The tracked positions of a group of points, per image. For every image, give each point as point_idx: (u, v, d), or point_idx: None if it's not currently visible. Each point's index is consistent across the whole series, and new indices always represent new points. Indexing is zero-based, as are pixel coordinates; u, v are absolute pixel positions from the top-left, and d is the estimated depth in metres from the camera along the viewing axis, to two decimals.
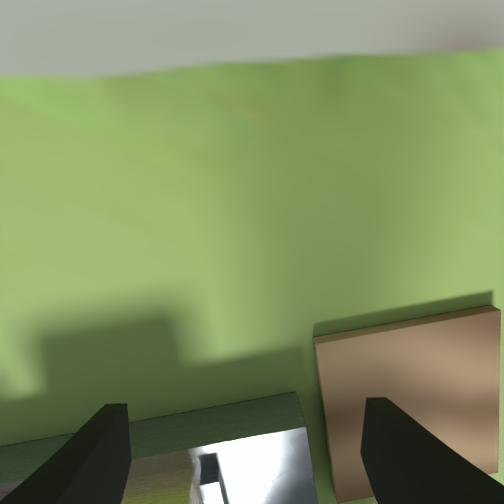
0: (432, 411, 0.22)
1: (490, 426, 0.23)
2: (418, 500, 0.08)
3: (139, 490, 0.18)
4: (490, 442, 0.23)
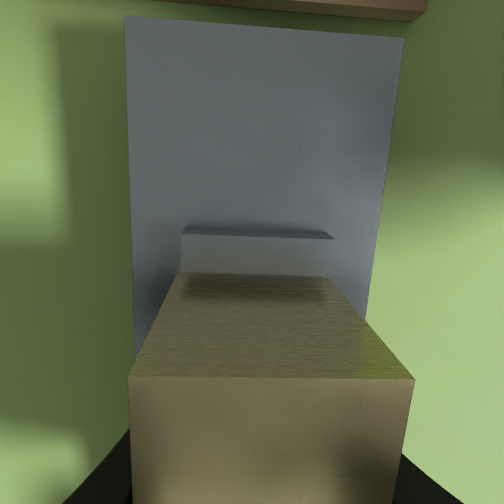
0: None
1: None
2: None
3: None
4: None
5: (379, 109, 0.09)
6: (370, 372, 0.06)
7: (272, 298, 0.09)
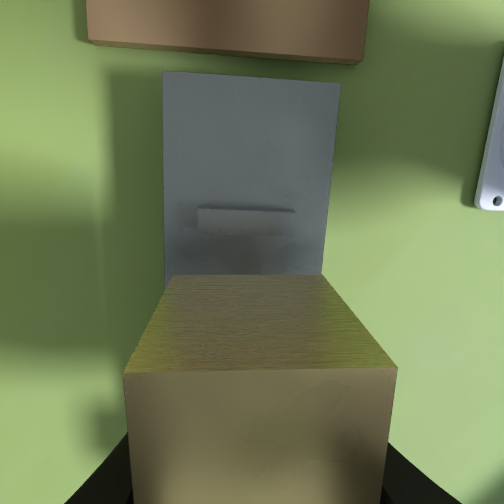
0: None
1: None
2: None
3: None
4: None
5: (326, 128, 0.14)
6: (355, 362, 0.06)
7: (265, 295, 0.09)
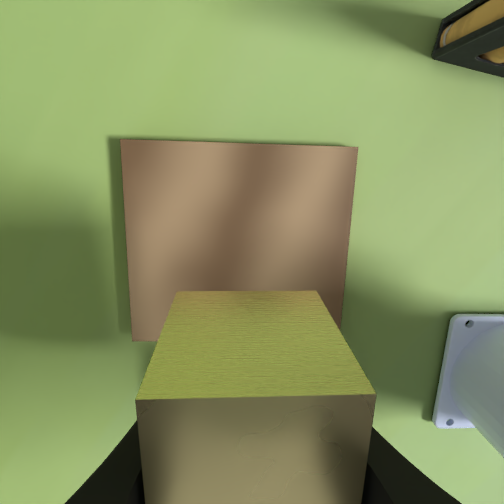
0: (243, 227, 0.19)
1: (283, 155, 0.18)
2: (362, 502, 0.08)
3: None
4: (307, 156, 0.18)
5: None
6: (339, 388, 0.07)
7: (261, 314, 0.10)
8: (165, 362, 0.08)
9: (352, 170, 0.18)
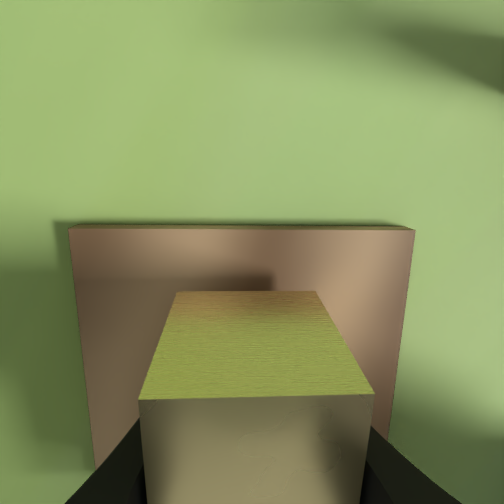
0: None
1: (306, 245, 0.12)
2: (362, 502, 0.08)
3: None
4: (341, 245, 0.12)
5: None
6: (338, 388, 0.07)
7: (261, 315, 0.10)
8: (167, 362, 0.08)
9: (406, 262, 0.13)
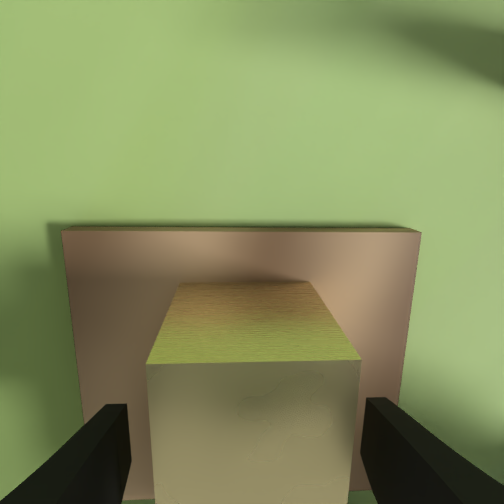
0: None
1: (309, 247, 0.12)
2: (418, 500, 0.08)
3: None
4: (345, 247, 0.12)
5: None
6: (328, 355, 0.08)
7: (259, 300, 0.11)
8: (171, 336, 0.08)
9: (411, 265, 0.12)
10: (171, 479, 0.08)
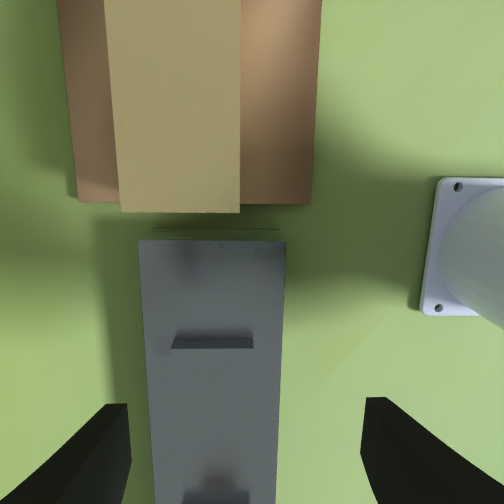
0: None
1: None
2: (418, 500, 0.08)
3: None
4: None
5: (276, 275, 0.17)
6: None
7: None
8: None
9: None
10: (118, 32, 0.12)
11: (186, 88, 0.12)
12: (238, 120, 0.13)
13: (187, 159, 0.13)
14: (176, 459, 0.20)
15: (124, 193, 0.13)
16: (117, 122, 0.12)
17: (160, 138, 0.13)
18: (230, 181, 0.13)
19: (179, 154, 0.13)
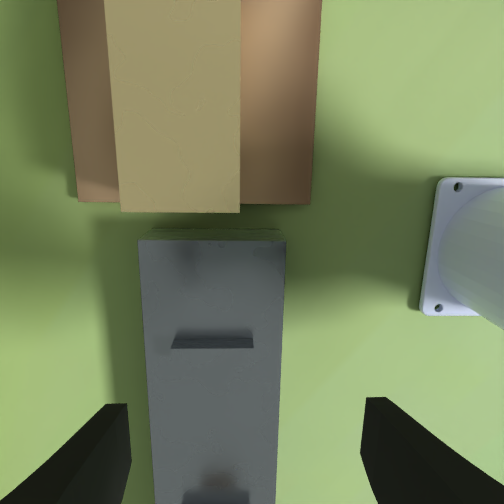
0: None
1: None
2: (418, 500, 0.08)
3: None
4: None
5: (276, 275, 0.17)
6: None
7: None
8: None
9: None
10: (118, 32, 0.12)
11: (186, 88, 0.12)
12: (238, 120, 0.13)
13: (187, 158, 0.13)
14: (176, 459, 0.20)
15: (124, 193, 0.13)
16: (117, 122, 0.12)
17: (160, 138, 0.13)
18: (230, 181, 0.13)
19: (179, 154, 0.13)
